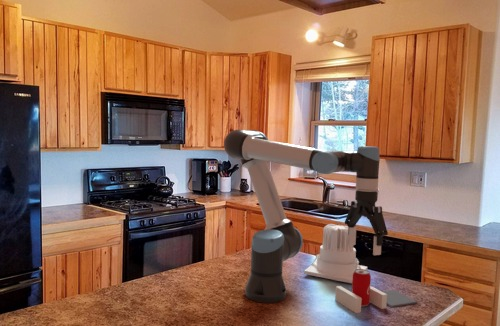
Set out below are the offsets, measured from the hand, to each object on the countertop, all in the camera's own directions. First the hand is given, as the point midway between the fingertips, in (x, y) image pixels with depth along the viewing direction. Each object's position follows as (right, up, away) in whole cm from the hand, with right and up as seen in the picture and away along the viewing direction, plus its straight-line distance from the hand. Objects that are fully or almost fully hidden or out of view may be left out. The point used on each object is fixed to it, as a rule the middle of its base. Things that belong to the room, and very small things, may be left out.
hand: (363, 249), depth 146 cm
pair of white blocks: (-1, -20, +1) cm, 20 cm away
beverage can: (-1, -20, +1) cm, 20 cm away
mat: (+13, -20, +7) cm, 25 cm away
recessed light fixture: (-3, -18, +33) cm, 38 cm away
